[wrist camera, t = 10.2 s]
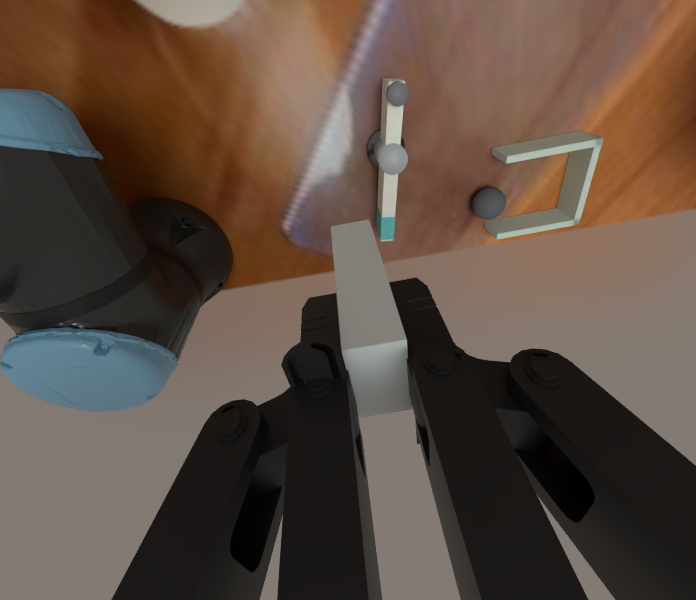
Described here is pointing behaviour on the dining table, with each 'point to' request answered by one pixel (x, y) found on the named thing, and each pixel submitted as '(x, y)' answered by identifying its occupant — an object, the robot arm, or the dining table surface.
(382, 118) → the teal-tipped knobbed bar
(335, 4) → the dining table surface
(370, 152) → the pivot base
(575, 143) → the box
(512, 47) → the dining table surface
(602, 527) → the robot arm
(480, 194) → the ball
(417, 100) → the dining table surface
